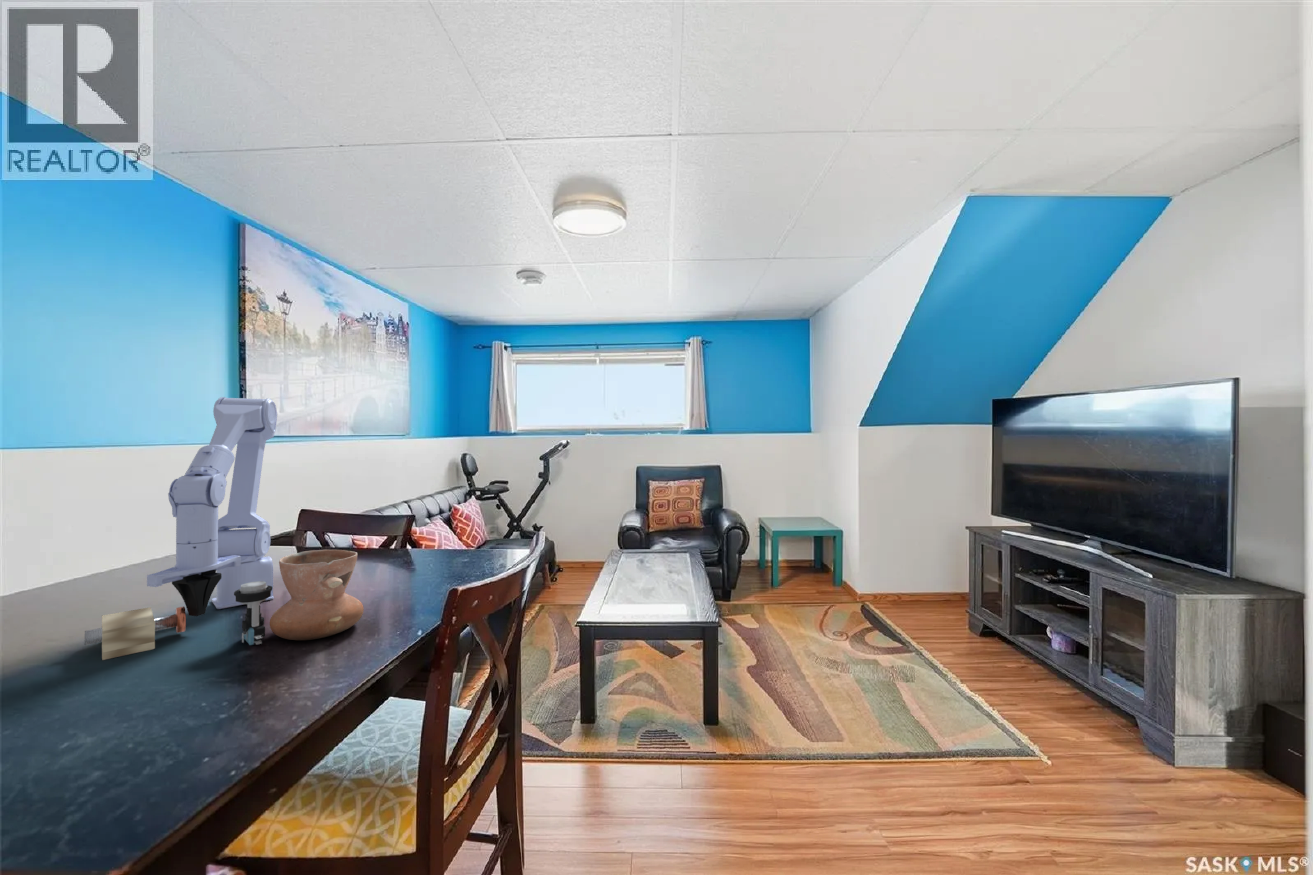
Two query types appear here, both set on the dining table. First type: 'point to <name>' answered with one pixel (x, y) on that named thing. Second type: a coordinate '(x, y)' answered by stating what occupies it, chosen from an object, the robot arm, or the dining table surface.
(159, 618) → the pin
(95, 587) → the dining table surface
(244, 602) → the push button
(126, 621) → the hitch block
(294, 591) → the ceramic jug
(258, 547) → the robot arm
